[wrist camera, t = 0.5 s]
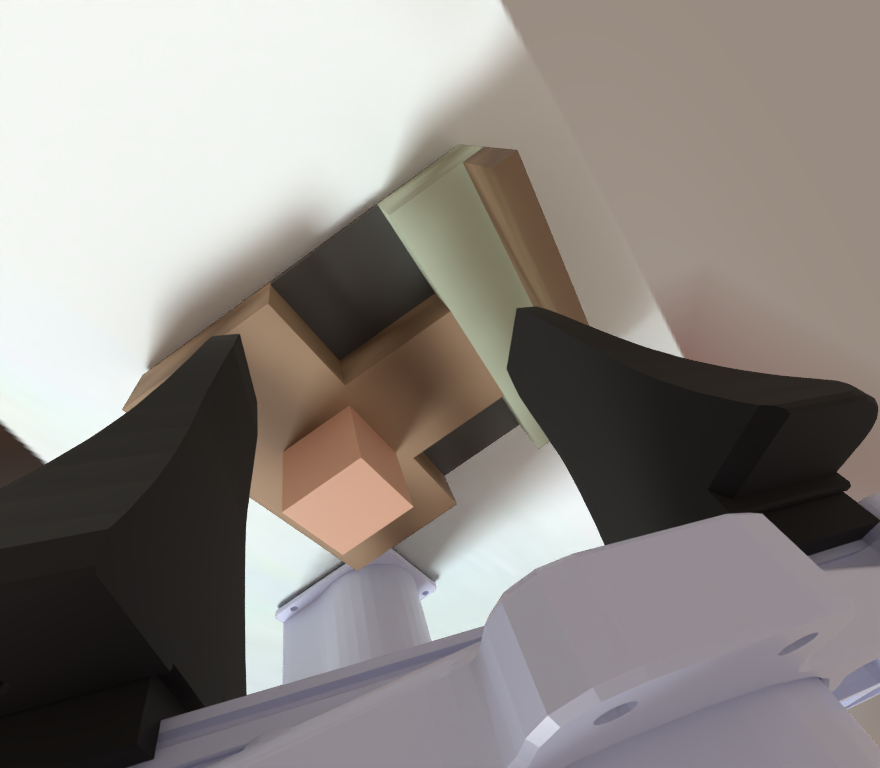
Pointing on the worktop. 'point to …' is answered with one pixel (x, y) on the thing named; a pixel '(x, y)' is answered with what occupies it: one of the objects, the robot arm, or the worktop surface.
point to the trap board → (401, 331)
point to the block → (343, 482)
